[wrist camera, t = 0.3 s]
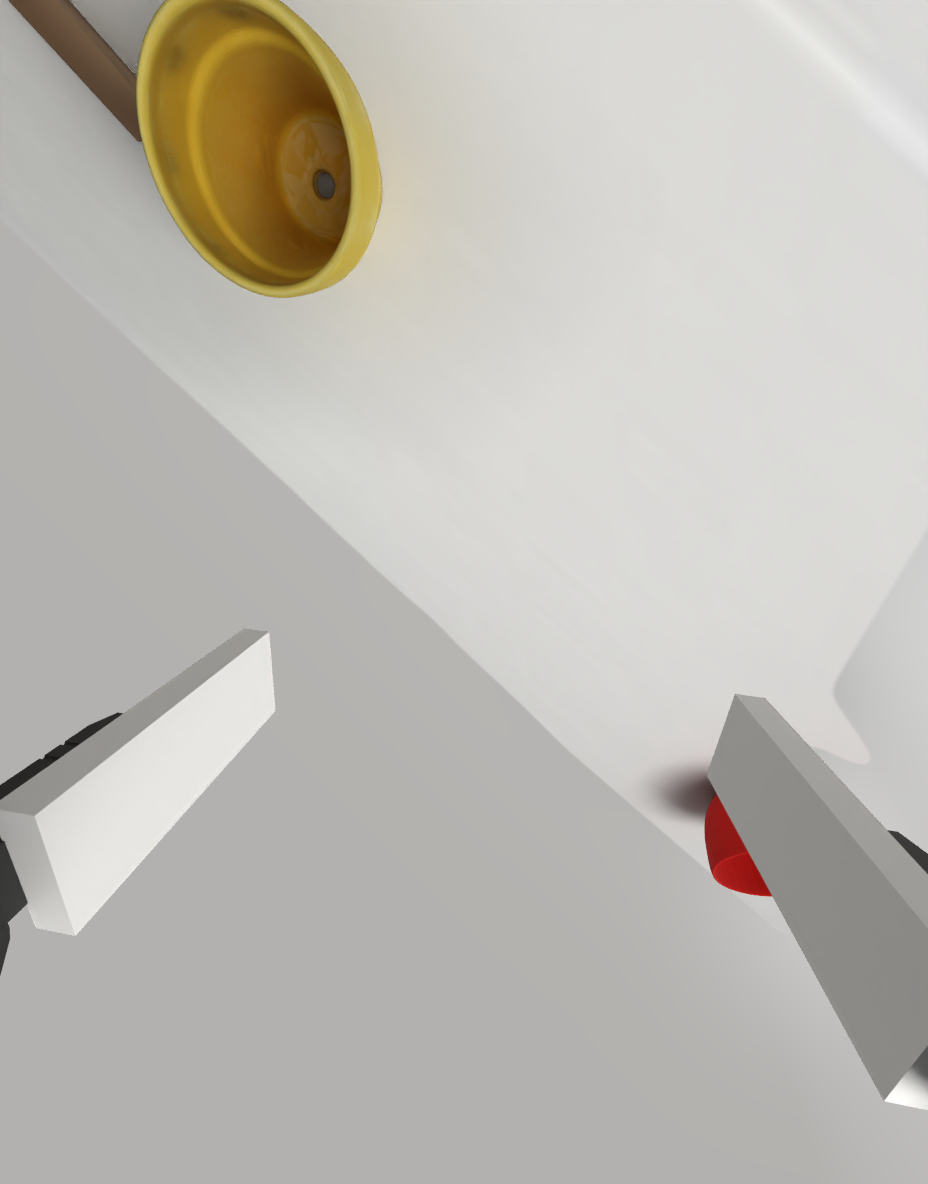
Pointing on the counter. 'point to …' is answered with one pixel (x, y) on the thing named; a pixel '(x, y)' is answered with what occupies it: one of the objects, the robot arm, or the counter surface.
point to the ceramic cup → (730, 854)
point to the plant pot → (257, 143)
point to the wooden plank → (85, 56)
